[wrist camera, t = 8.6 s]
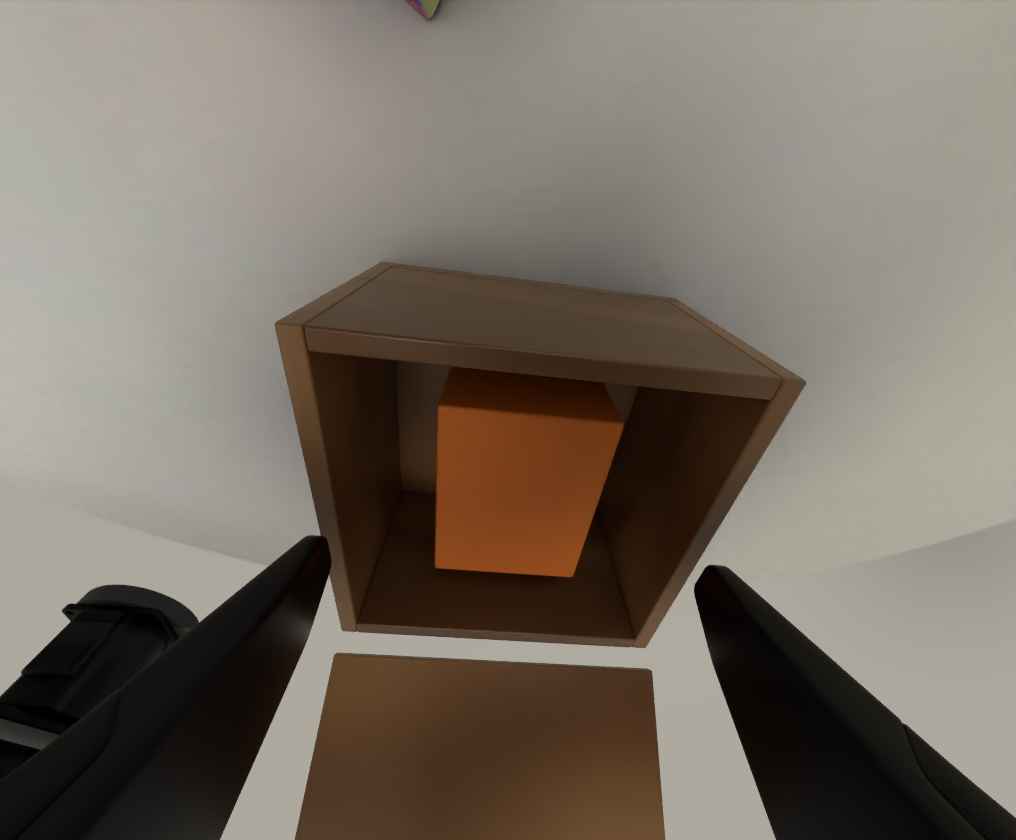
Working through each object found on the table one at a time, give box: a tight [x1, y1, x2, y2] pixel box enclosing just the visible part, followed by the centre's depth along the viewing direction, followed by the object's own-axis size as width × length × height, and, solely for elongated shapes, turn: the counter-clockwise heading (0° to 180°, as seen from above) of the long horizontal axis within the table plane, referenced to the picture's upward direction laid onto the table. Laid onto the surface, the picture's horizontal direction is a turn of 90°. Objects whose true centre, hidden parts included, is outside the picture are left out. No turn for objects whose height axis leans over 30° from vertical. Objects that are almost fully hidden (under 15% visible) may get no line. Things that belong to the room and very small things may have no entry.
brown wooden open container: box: [275, 262, 806, 648], centre depth 12 cm, size 10×10×6 cm
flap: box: [295, 653, 665, 840], centre depth 11 cm, size 5×10×1 cm
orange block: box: [435, 366, 624, 577], centre depth 12 cm, size 6×4×5 cm
